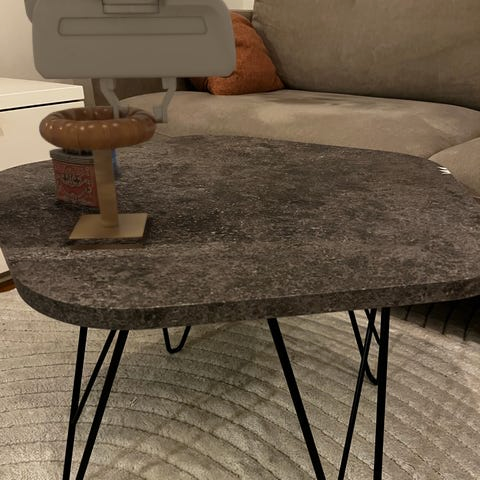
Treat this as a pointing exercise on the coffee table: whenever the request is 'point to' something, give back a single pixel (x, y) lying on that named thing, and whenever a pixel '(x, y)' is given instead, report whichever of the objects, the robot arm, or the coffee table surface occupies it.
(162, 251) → the coffee table surface
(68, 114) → the ring
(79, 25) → the robot arm
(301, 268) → the coffee table surface
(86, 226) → the paper towel holder
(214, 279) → the coffee table surface
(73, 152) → the lighter
